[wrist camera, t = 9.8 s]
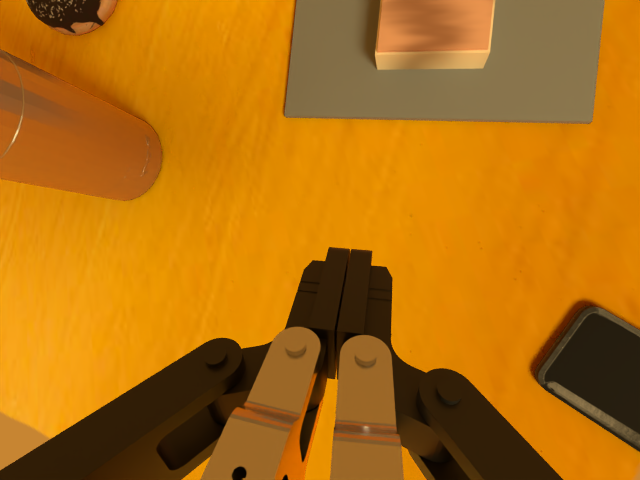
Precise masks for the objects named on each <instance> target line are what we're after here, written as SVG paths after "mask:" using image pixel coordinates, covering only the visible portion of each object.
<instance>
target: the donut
mask: <svg viewBox="0 0 640 480" xmlns="http://www.w3.org/2000/svg"><path fill="white" fill-rule="evenodd" d="M26 1H27V4H28V6H29V8H30V9H31V11H32V12H33V13H34V15H35V16H36V17H37V18H38V19H39V20H41V21H42V22H44V23H45V24H47V25H48V26H49V27H50V28H52V29H54V30H56V31H58V32H61V33H63V34H67V35H82V34H85V33H88V32H91V31H93V30H95V29H96V28H98V27H99V26H101V25H103V24H104V23H105V21H106V20H107V19H108V18H109V17H110V15H111V14H112V13H113V11H114V9H115V6H116V3H117V0H26Z"/></svg>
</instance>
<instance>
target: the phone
mask: <svg viewBox="0 0 640 480" xmlns="http://www.w3.org/2000/svg"><path fill="white" fill-rule="evenodd" d="M558 341H559V342H558ZM535 378H536V380H537V382H538V384H539V385H540V386H541V387H543V388H544V389H545V390H546V391H548V392H549V393H551V394H552V395H554V396H555V397H557V398H558V399H560V400H561V401H563V402H564V403H566V404H567V405H569V406H570V407H572V408H573V409H575V410H577V411H578V412H580V413H581V414H583V415H584V416H586V417H587V418H589V419H590V420H592V421H593V422H595V423H596V424H598V425H599V426H601V427H602V428H604V429H606V430H607V431H609V432H610V433H612V434H613V435H615V436H616V437H618V438H619V439H621V440H622V441H624V442H625V443H627V444H628V445H630V446H631V447H633V448H634V449H636V450H638V451H639V452H640V330H639V329H637V328H635V327H633V326H632V325H630V324H628V323H626V322H625V321H623V320H621V319H620V318H618V317H616V316H614V315H613V314H611V313H609V312H608V311H606V310H604V309H601V308H599V307H595V306H585V307H583V308H580V309H579V310H578V311H577V312H576V314H575V315H574V316H573V318H572V319H571V321H570V322H569V323H568V325H567V326H566V327H565V329H564V330H563V332H562V333H561V334H560V336H559V337H558V338H557V340H556V341H555V343H554V344H553V345H552V347H551V348H550V349H549V351H548V352H547V354H546V355H545V356H544V358H543V359H542V360H541V362H540V363H539V365H538V366H537V368H536V370H535Z"/></svg>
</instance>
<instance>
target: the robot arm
mask: <svg viewBox="0 0 640 480" xmlns="http://www.w3.org/2000/svg"><path fill="white" fill-rule="evenodd" d="M161 162H162V150H161V144H160V141H159V139H158V136H157V134H156V133H155V131H154V130H153V128H152V127H151V126H150V125H149V124H147V123H146V122H144V121H142V120H141V119H139V118H137V117H135V116H133V115H131V114H129V113H127V112H125V111H123V110H121V109H119V108H117V107H115V106H113V105H111V104H109V103H107V102H105V101H103V100H101V99H99V98H97V97H95V96H93V95H91V94H89V93H87V92H85V91H83V90H81V89H79V88H77V87H75V86H73V85H71V84H69V83H67V82H65V81H63V80H61V79H59V78H57V77H55V76H53V75H51V74H49V73H47V72H45V71H43V70H41V69H39V68H37V67H35V66H33V65H31V64H29V63H27V62H25V61H23V60H21V59H19V58H17V57H15V56H13V55H11V54H9V53H7V52H5V51H3V50H1V49H0V179H4V180H9V181H15V182H20V183H26V184H31V185H37V186H43V187H48V188H54V189H59V190H65V191H70V192H76V193H81V194H86V195H92V196H97V197H103V198H109V199H114V200H122V201H126V200H132V199H135V198H137V197H139V196H141V195H142V194H144V193H145V192H146V191H147V190H148V189H149V188H150V187H151V186H152V185H153V183H154V181H155V180H156V178H157V176H158V173H159V171H160V167H161ZM371 261H372V251H369V250H357V249H351V253H350V249H344V248H333V247H329V249H328V253H327V257H326V260H325V261H315V260H313V261H312V262H311V263H310V264H309V265H308V266H307V267H306V268H305V269H304V271H303V274H302V278H301V281H300V284H299V287H298V291H297V293H296V296H295V299H294V302H293V306H292V309H291V312H290V315H289V318H288V321H287V324H286V327H285V329H284V330H283V331H281V332H280V333H279V334H278V335H277V336H276V337H275V338H274V340H273V341H272V342H270V343H268V344H265V345H261V346H255V347H249V348H243V349H241V347H240V346H239V344H238V343H237V342H235V341H234V340H231V339H228V338H217V339H213V340H210V341H208V342H206V343H204V344H203V345H201V346H199V347H198V348H196V349H195V350H193V351H191V352H190V353H188V354H187V355H185V356H183V357H182V358H180V359H179V360H177V361H175V362H174V363H172V364H170V365H169V366H167V367H166V368H164V369H162V370H161V371H159V372H158V373H156V374H154V375H153V376H151V377H150V378H148V379H146V380H145V381H143V382H142V383H140V384H138V385H137V386H135V387H134V388H132V389H130V390H129V391H127V392H126V393H124V394H122V395H121V396H119V397H118V398H116V399H114V400H113V401H111V402H109V403H108V404H106V405H105V406H103V407H101V408H100V409H98V410H97V411H95V412H93V413H92V414H90V415H89V416H87V417H85V418H84V419H82V420H81V421H79V422H77V423H76V424H74V425H73V426H71V427H69V428H68V429H66V430H65V431H63V432H61V433H60V434H58V435H56V436H55V437H53V438H52V439H50V440H48V441H47V442H45V443H44V444H42V445H40V446H39V447H37V448H36V449H34V450H33V451H31V452H29V453H28V454H26V455H24V456H23V457H21V458H20V459H18V460H16V461H15V462H13V463H12V464H10V465H8V466H7V467H5V468H4V469H2V470H0V480H181V479H183V478H184V477H185V476H186V475H188V474H189V473H190V472H191V471H192V470H194V469H195V468H196V467H197V466H199V465H200V464H201V463H202V462H204V461H205V460H206V459H207V458H208V457H210V456H211V455H212V456H211V458H210V460H209V462H208V464H207V466H206V469H205V471H204V473H203V475H202V477H201V479H200V480H304V479H305V471H306V466H307V461H308V457H309V454H310V450H311V446H312V442H313V438H314V434H315V431H316V427H317V423H318V419H319V415H320V411H321V408H322V404H323V397H324V393H325V387H326V382H327V378H330V379H335V375H336V369H337V379H338V391H337V405H336V420H335V427H334V435H333V447H332V461H331V475H330V480H404V477H403V464H402V450H401V445H402V446H403V447H405V448H407V449H408V451H409V453H410V455H411V457H412V458H413V460H414V461H415V463H416V464H417V466H418V467H419V469H420V470H421V472H422V473H423V475H424V476H425V478H426V479H427V480H563V479H562V478H561V477H560V476H559V475H558V474H557V473H556V472H555V471H554V469H553V468H552V467H551V466H550V465H549V464H548V463H547V462H546V461H545V460H544V459H543V458H542V457H541V456H540V455H539V454H538V453H537V452H536V451H535V450H534V448H533V447H532V446H531V445H530V444H529V443H528V442H527V441H526V440H525V439H524V438H523V437H522V436H521V435H520V434H519V433H518V432H517V431H516V430H515V429H514V427H513V426H512V425H511V424H510V423H509V422H508V421H507V420H506V419H505V418H504V417H503V416H502V415H501V414H500V413H499V412H498V411H497V410H496V409H495V408H494V407H493V405H492V404H491V403H490V402H489V401H488V400H487V399H486V398H485V397H484V396H483V395H482V394H481V393H480V392H479V391H478V390H477V389H476V388H475V387H474V386H473V384H472V383H471V382H470V381H469V380H468V379H466V378H465V377H464V376H463V375H461V374H459V373H458V372H455V371H453V370H449V369H443V368H440V369H433V370H431V371H429V372H427V373H425V372H423V371H421V370H419V369H416V368H414V367H412V366H410V365H408V364H406V363H405V362H404V361H402V360H401V359H400V358H399V357H398V356H397V355H396V353H395V352H394V350H393V348H392V344H391V310H392V277H391V275H390V273H389V271H388V269H387V267H381V266H371Z"/></svg>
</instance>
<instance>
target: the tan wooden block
mask: <svg viewBox="0 0 640 480" xmlns="http://www.w3.org/2000/svg"><path fill="white" fill-rule="evenodd" d="M494 8H495V0H381V2H380V12H379V21H378V31H377V40H376V50H375V59H376V65H377V70H397V69H479V68H484V65H485V63H486V61H487V58H488V56H489V54H490V47H491V37H492V28H493V18H494Z"/></svg>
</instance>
